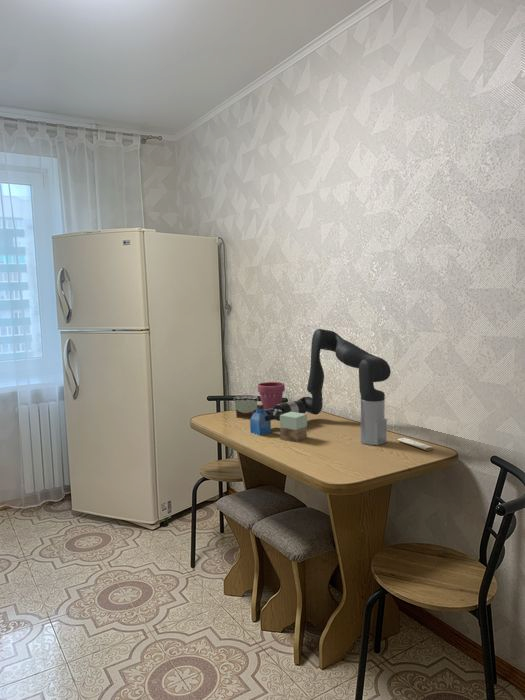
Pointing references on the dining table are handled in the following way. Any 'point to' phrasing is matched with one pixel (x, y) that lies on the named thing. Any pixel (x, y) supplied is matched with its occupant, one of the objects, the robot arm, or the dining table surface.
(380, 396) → the robot arm
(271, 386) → the plant pot
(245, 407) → the food container
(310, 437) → the dining table surface
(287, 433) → the tower base block
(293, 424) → the tower top block
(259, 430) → the perfume bottle
